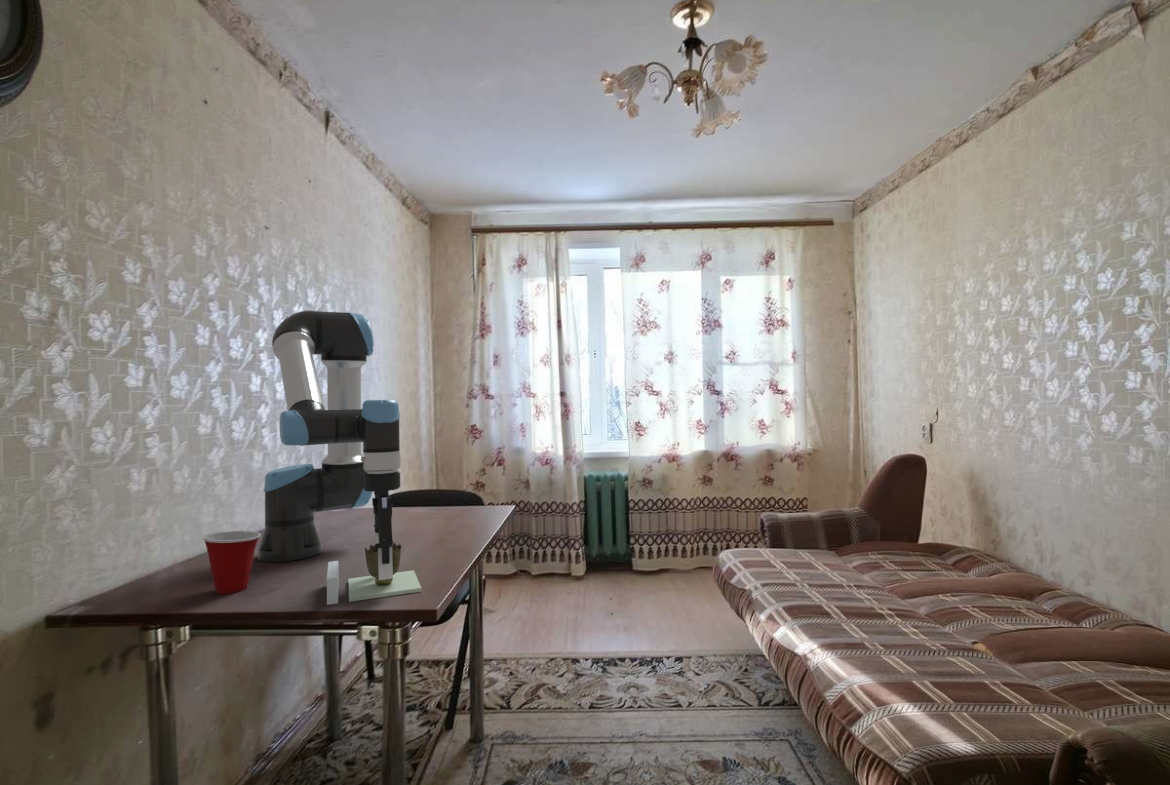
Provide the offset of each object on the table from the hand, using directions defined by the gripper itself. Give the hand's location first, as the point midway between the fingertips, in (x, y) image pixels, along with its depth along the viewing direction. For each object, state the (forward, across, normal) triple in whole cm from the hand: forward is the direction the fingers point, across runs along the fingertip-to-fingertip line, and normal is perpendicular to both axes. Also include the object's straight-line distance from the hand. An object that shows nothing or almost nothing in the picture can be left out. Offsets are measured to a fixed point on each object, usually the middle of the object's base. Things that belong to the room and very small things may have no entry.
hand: (383, 570), depth 126 cm
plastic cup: (+4, -13, -30) cm, 33 cm away
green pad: (+4, 0, 0) cm, 4 cm away
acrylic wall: (+4, 0, -10) cm, 11 cm away
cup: (+3, +1, 0) cm, 3 cm away
